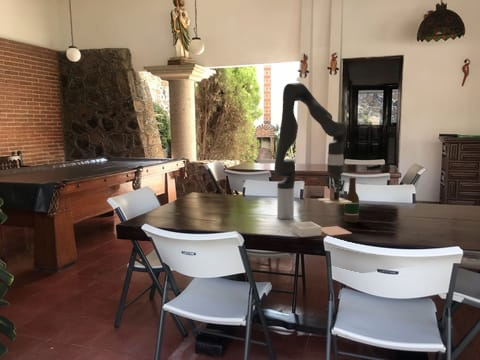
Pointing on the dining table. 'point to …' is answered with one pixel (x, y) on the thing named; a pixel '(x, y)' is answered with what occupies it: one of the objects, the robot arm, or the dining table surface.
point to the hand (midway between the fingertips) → (334, 198)
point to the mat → (334, 230)
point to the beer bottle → (352, 209)
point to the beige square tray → (306, 229)
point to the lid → (331, 200)
